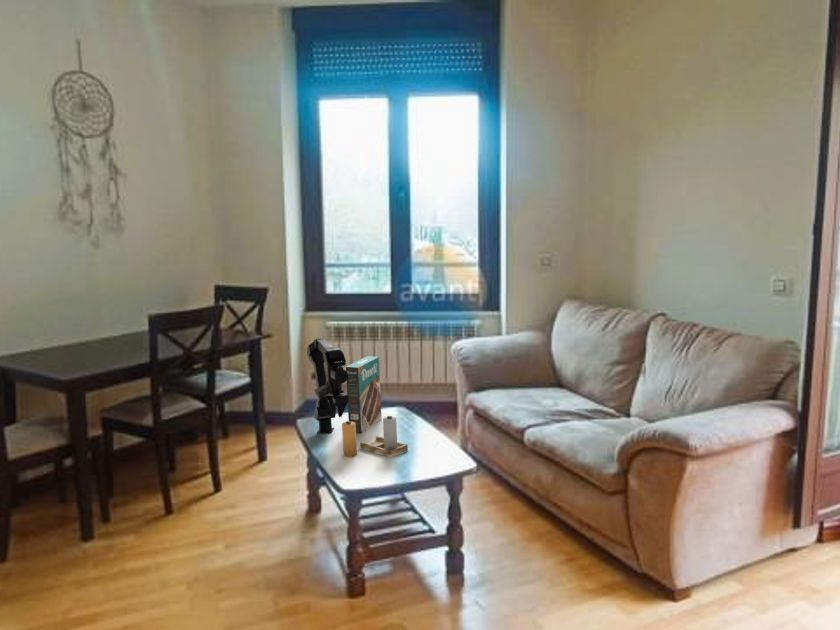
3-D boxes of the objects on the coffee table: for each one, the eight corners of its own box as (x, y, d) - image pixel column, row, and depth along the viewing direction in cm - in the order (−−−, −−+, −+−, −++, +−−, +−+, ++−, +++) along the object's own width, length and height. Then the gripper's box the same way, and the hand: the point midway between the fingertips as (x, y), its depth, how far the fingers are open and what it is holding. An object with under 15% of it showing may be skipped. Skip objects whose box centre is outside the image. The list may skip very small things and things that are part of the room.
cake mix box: (361, 433, 301) (358, 367, 296) (349, 432, 303) (345, 366, 298) (381, 418, 321) (378, 356, 316) (370, 417, 323) (367, 356, 319)
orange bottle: (345, 452, 279) (343, 419, 276) (358, 452, 278) (356, 419, 276) (342, 457, 273) (340, 423, 271) (355, 456, 273) (354, 423, 271)
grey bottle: (385, 446, 280) (383, 414, 278) (398, 446, 280) (396, 414, 277) (383, 451, 275) (381, 418, 273) (396, 451, 274) (395, 418, 272)
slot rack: (359, 448, 283) (359, 442, 282) (377, 441, 290) (377, 435, 290) (390, 457, 271) (390, 451, 270) (407, 450, 278) (407, 444, 277)
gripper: (309, 376, 290) (311, 411, 292) (322, 385, 273) (325, 423, 275) (334, 372, 294) (336, 407, 297) (349, 381, 278) (351, 418, 280)
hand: (336, 414), depth 287 cm, fingers open, 9 cm apart
